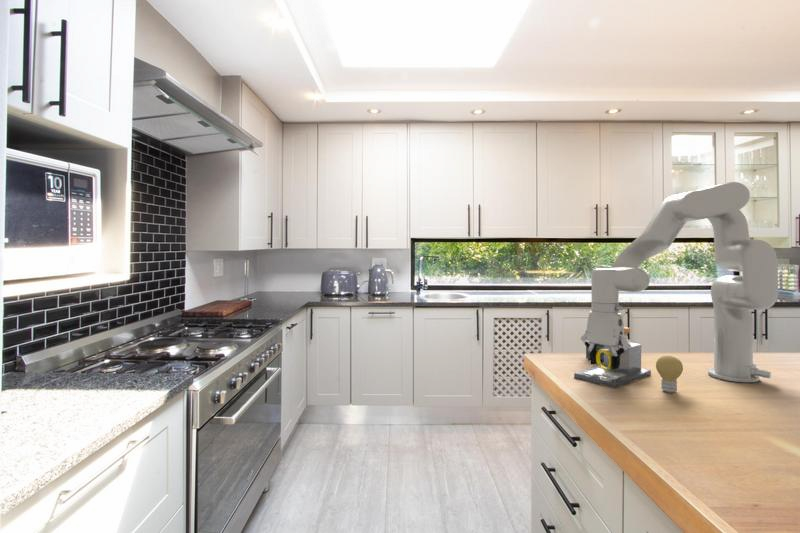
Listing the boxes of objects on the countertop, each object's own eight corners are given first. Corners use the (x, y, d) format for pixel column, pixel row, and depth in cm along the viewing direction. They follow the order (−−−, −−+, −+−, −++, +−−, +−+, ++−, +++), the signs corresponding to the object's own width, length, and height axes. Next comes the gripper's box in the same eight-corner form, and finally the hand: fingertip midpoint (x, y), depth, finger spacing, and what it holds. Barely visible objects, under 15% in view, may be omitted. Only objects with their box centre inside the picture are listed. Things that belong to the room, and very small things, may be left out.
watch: (594, 367, 133) (593, 348, 133) (601, 366, 134) (600, 347, 134) (608, 370, 127) (607, 351, 128) (616, 370, 128) (615, 350, 128)
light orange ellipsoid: (632, 351, 137) (632, 328, 136) (626, 353, 134) (626, 329, 134) (619, 349, 140) (619, 326, 140) (612, 351, 138) (612, 327, 137)
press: (650, 374, 135) (651, 345, 135) (615, 388, 122) (615, 355, 122) (610, 366, 146) (610, 338, 145) (574, 377, 133) (574, 347, 132)
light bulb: (674, 396, 115) (674, 359, 114) (650, 389, 120) (651, 355, 120) (687, 392, 117) (687, 357, 117) (664, 386, 123) (664, 352, 123)
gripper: (639, 309, 125) (639, 370, 126) (585, 304, 139) (585, 358, 140) (627, 312, 121) (626, 374, 122) (572, 306, 135) (572, 362, 136)
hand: (604, 365), depth 131 cm, fingers closed on watch, 5 cm apart
